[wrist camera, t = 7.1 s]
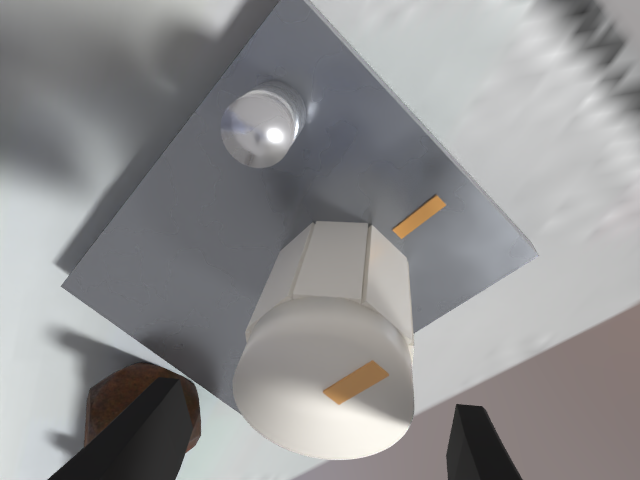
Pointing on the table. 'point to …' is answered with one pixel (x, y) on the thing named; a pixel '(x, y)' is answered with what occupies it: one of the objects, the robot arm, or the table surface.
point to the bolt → (133, 398)
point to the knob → (331, 346)
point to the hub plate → (286, 200)
